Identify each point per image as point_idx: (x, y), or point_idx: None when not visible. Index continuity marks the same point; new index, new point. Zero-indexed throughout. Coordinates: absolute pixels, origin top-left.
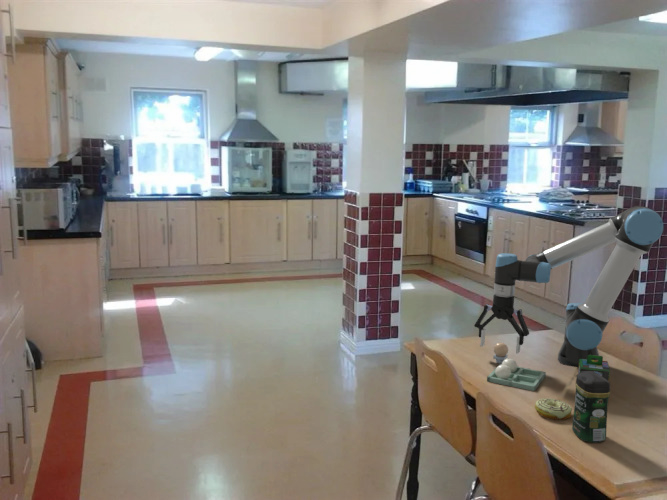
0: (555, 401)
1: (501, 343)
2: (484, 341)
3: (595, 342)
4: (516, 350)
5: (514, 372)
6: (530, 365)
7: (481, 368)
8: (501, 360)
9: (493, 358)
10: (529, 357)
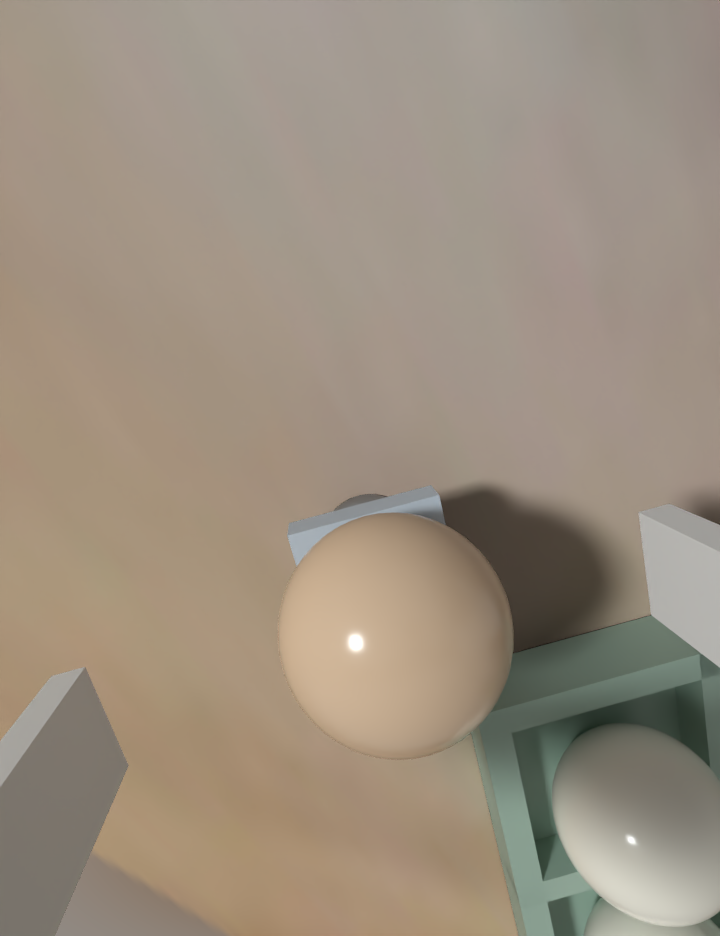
0: None
1: (433, 720)
2: (59, 727)
3: None
4: (691, 641)
5: (631, 703)
6: (633, 314)
7: (305, 765)
8: None
9: None
10: (508, 14)
